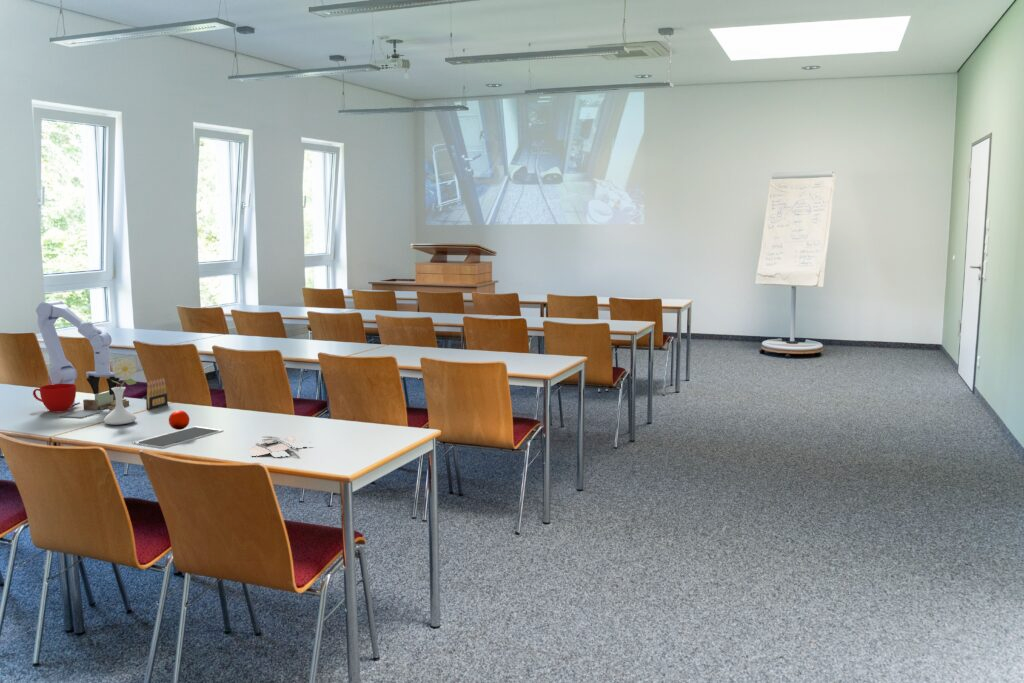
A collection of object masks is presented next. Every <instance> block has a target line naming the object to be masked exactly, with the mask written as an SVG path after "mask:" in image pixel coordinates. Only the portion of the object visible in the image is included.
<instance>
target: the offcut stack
mask: <svg viewBox="0 0 1024 683" xmlns="http://www.w3.org/2000/svg"><path fill="white" fill-rule="evenodd" d="M122 402H123V406H124V408H125V407H127V406H130V400H127V398H124V399H122ZM110 404H111V406H110V407H108V410H114V409H115V407H116V400H114V401H111V402H110Z"/></svg>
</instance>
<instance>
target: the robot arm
mask: <svg viewBox="0 0 1024 683" xmlns="http://www.w3.org/2000/svg"><path fill="white" fill-rule="evenodd" d="M35 312H36V314H37V326H38V328H39V331H40V333H41V336H42V340H43V343H44V345H45V348H46V350H47V353H48V356H49V358H50V362H51V365H50V367H49V368H48V371H49V379H50V381H51V384H74V385H75V382H76V381H75V380H77V378H78V372H77V369H76V368H75V367H74V366H73V363H72V362H70V361H69V360H67V357H66V355H65V353H64V350H63V347H62V343H61V340H60V338H59V335H58V333H57V330H56V327H55V323H56V322H57V320H58V319H59V318H63V319H64V320H65V321H67V322H68V323H69V324H71V325H72V326H73V327H76V328H77V332H78V333H79V334H80V335H81V336H83V337H84V338H86V339H87V340H88V341H89V344H90V346H91V347H92V351H93V358H94V371H86V372H85V375H86V377H87V378H86V381H87V382H88V384H89V385H90V387H91V389H92V393H93V395H95V394H98V393H100V391H99V390H100V389H99V388H100V387H99V385H100V383H99V382H100V378H106V382H107V386H108V391H109V394H110V395H113V394H114V392H113V390H112V389H111V388H114V387H117V385H118V383H119V382H120V379H121V378H119V377H116V376H115V375H116V374H114V372H113V371H111V361H110V360H111V359H110V345H111V344H112V340H113V339H112V336H111V335H110V334H109V333H108V332H102V330H101V329H98V327H96V326H95V325H94V323H92V322H91V321H90V322H89V321H83V320H82V319H81V318H80V317H79V316H78V315H77V314H76V313H74V312H73V311H72V310H71V309H70V308H69V306H68V304H66V303H65V302H63V301H62V300H59V299H58V300H52V301H41V302H39V303H38V306H37V307H36V308H35ZM112 380H113V381H115V382H118V383H115V382H113V381H112ZM79 404H81V402H80V401H76V399H75V400H74V403H73V405H72V406H74V405H79Z"/></svg>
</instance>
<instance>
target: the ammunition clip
mask: <svg viewBox="0 0 1024 683" xmlns="http://www.w3.org/2000/svg"><path fill="white" fill-rule="evenodd" d="M146 384H147V386H146V397H145V398H146V400H145V401H146V402H145V404H146V405H145V406H146V408H145V409H146V410H154V409H155V410H156V409H158V408H162V407H165V406H168V405H169V401H168V393H167V388H166V380H165V378H164V376H163V377H162V378H161V377H159V379H158V378H156V379H153V380H152V379H151V380H150V381H149V380H147V383H146Z"/></svg>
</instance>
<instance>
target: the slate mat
mask: <svg viewBox="0 0 1024 683" xmlns="http://www.w3.org/2000/svg"><path fill="white" fill-rule="evenodd" d="M101 412H102V413H103V412H104V411H103V410H97V411H96V410H84V409H79V410H76V411H71V412H69V413H64V414H61V415H59V417H60V418H70V419H71V418H72V419H84V417H85V418H88V417H91V416H94V414H95V415H98V414H100V413H101ZM87 416H88V417H87Z"/></svg>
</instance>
